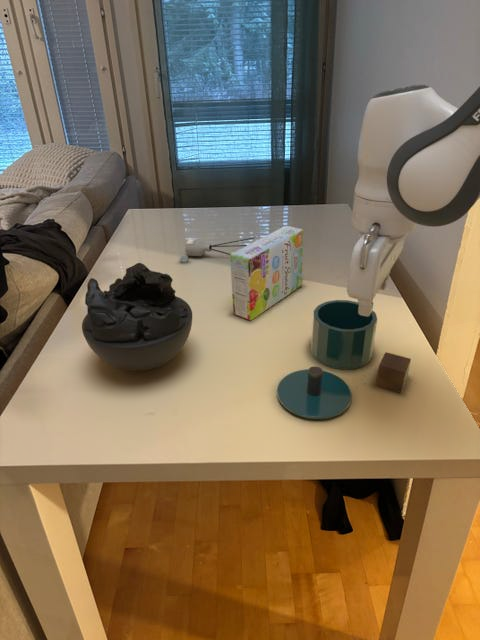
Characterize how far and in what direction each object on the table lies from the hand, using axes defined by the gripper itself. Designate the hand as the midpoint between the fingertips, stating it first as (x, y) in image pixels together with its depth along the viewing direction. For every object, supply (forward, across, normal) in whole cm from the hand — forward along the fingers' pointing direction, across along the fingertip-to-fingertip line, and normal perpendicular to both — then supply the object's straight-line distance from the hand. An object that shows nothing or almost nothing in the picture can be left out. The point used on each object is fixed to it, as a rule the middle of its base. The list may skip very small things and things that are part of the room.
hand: (373, 300), depth 73 cm
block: (+18, +4, -4) cm, 19 cm away
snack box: (+18, +23, +29) cm, 41 cm away
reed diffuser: (+18, +38, +52) cm, 66 cm away
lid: (+17, -5, +7) cm, 19 cm away
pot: (+18, +10, +7) cm, 21 cm away
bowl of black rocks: (+18, -10, +40) cm, 45 cm away
